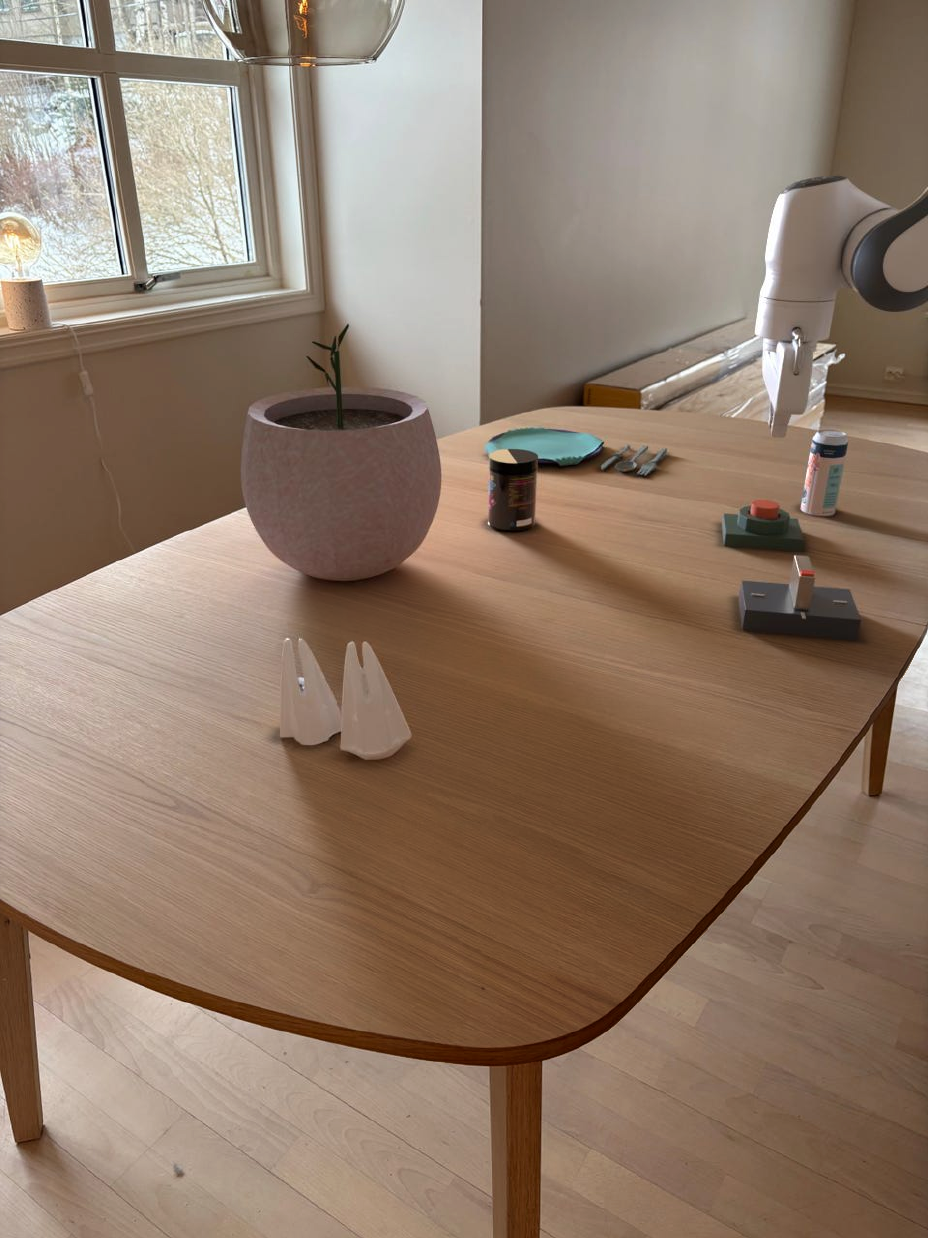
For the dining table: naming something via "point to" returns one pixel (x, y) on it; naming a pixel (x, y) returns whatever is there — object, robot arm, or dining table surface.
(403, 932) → the dining table surface
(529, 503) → the supplement container
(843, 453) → the beer can
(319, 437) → the plant pot
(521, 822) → the dining table surface
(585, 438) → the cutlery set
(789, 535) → the button block
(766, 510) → the button
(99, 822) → the dining table surface
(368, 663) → the shaker set
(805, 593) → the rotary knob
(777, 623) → the panel
